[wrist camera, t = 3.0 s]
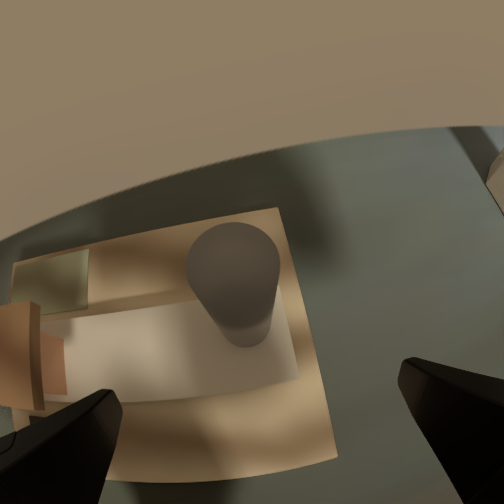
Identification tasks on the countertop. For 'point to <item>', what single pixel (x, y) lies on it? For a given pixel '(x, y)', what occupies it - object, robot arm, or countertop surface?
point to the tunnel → (20, 356)
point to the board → (195, 408)
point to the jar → (497, 180)
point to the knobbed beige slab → (183, 332)
